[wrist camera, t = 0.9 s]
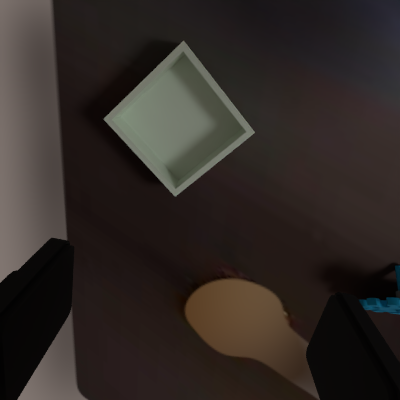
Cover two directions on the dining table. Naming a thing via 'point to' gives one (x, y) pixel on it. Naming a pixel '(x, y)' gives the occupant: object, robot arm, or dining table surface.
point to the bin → (179, 120)
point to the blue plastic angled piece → (388, 305)
